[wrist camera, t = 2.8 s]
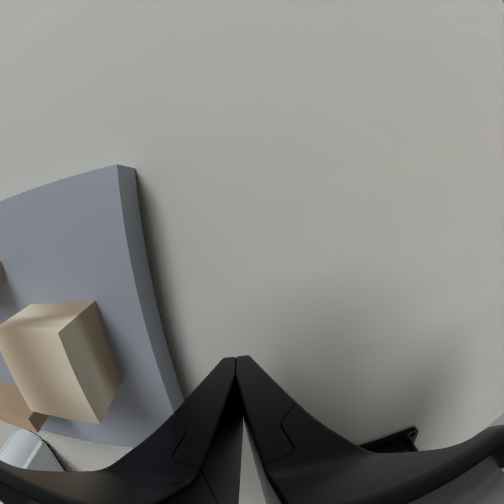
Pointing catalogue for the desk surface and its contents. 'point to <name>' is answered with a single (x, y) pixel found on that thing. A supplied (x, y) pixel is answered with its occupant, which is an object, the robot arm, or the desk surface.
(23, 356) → the birch block
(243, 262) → the desk surface
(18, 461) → the photo printer
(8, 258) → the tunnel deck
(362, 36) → the desk surface
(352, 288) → the desk surface
